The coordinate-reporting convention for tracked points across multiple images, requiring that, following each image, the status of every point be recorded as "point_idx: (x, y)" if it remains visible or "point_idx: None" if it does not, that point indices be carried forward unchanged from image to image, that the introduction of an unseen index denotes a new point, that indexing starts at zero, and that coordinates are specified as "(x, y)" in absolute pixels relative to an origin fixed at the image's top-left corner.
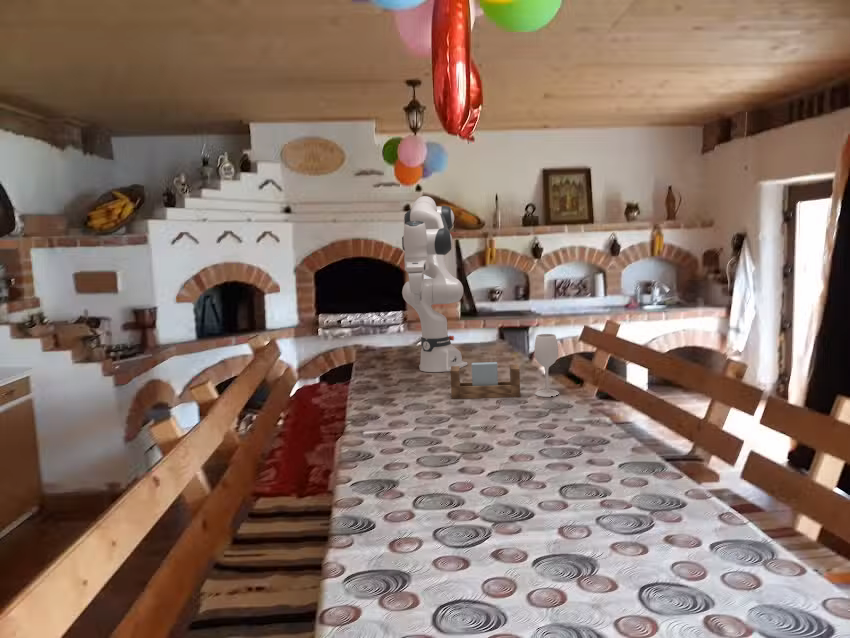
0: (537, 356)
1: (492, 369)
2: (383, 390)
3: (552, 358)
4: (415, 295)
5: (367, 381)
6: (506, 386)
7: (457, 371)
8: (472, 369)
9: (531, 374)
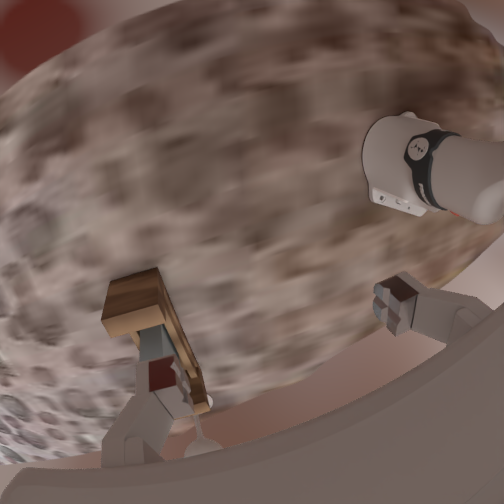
0: (188, 452)
1: None
2: (160, 76)
3: None
4: (113, 447)
5: (263, 6)
6: None
7: (109, 333)
8: (140, 357)
9: (330, 348)
